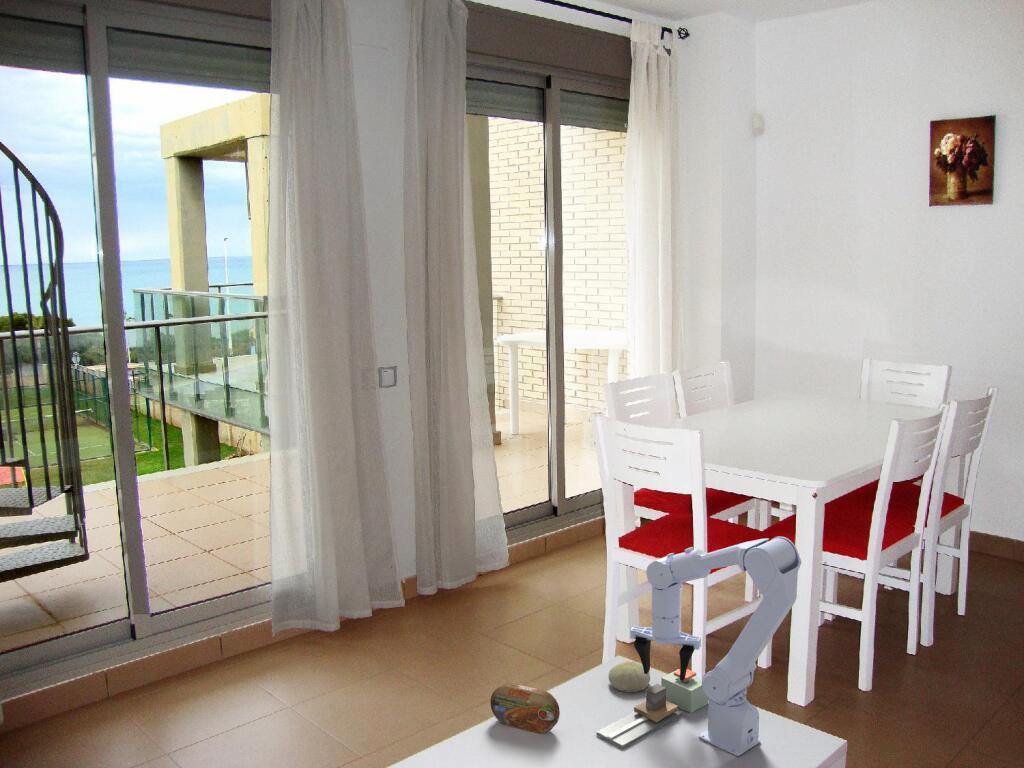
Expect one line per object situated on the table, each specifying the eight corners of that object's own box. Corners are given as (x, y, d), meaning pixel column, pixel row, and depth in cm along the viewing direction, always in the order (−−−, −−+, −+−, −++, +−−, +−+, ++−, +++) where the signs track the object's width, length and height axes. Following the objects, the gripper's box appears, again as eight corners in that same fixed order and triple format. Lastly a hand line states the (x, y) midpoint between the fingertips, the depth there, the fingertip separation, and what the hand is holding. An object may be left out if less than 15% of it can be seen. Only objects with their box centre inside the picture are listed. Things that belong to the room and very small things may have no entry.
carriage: (677, 710, 190) (678, 688, 190) (656, 722, 186) (656, 699, 185) (655, 700, 195) (655, 678, 194) (633, 711, 190) (634, 688, 189)
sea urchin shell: (598, 671, 207) (621, 644, 208) (621, 691, 209) (643, 664, 210) (615, 690, 198) (638, 661, 199) (638, 710, 201) (661, 682, 202)
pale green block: (708, 703, 196) (708, 681, 195) (690, 713, 192) (691, 690, 191) (678, 690, 202) (678, 668, 201) (661, 699, 198) (661, 677, 197)
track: (683, 715, 191) (683, 710, 191) (622, 749, 178) (622, 743, 178) (657, 703, 196) (657, 698, 196) (596, 735, 184) (596, 729, 183)
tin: (489, 721, 190) (489, 683, 188) (497, 714, 193) (496, 677, 191) (555, 738, 183) (555, 699, 182) (561, 731, 186) (561, 692, 184)
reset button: (696, 682, 196) (696, 672, 196) (686, 687, 194) (686, 677, 193) (683, 676, 198) (683, 667, 198) (673, 682, 196) (673, 672, 196)
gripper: (626, 615, 188) (625, 677, 190) (695, 626, 182) (694, 690, 184) (635, 603, 195) (635, 662, 197) (703, 613, 189) (702, 674, 191)
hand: (664, 675), depth 191 cm, fingers open, 7 cm apart
